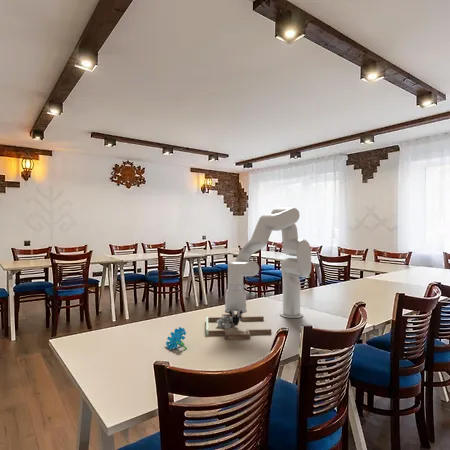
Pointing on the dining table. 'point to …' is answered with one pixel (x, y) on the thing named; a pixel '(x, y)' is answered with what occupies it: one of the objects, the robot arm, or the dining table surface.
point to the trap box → (238, 336)
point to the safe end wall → (206, 326)
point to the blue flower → (176, 338)
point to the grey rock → (225, 322)
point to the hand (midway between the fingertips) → (235, 324)
